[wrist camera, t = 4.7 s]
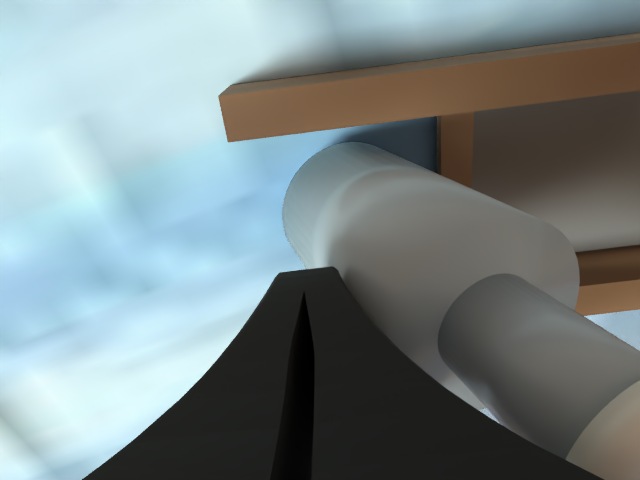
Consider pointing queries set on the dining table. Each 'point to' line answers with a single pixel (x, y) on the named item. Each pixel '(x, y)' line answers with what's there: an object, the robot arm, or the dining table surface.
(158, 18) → the dining table surface
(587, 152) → the cradle
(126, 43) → the dining table surface
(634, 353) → the bottle
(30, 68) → the dining table surface
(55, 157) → the dining table surface
